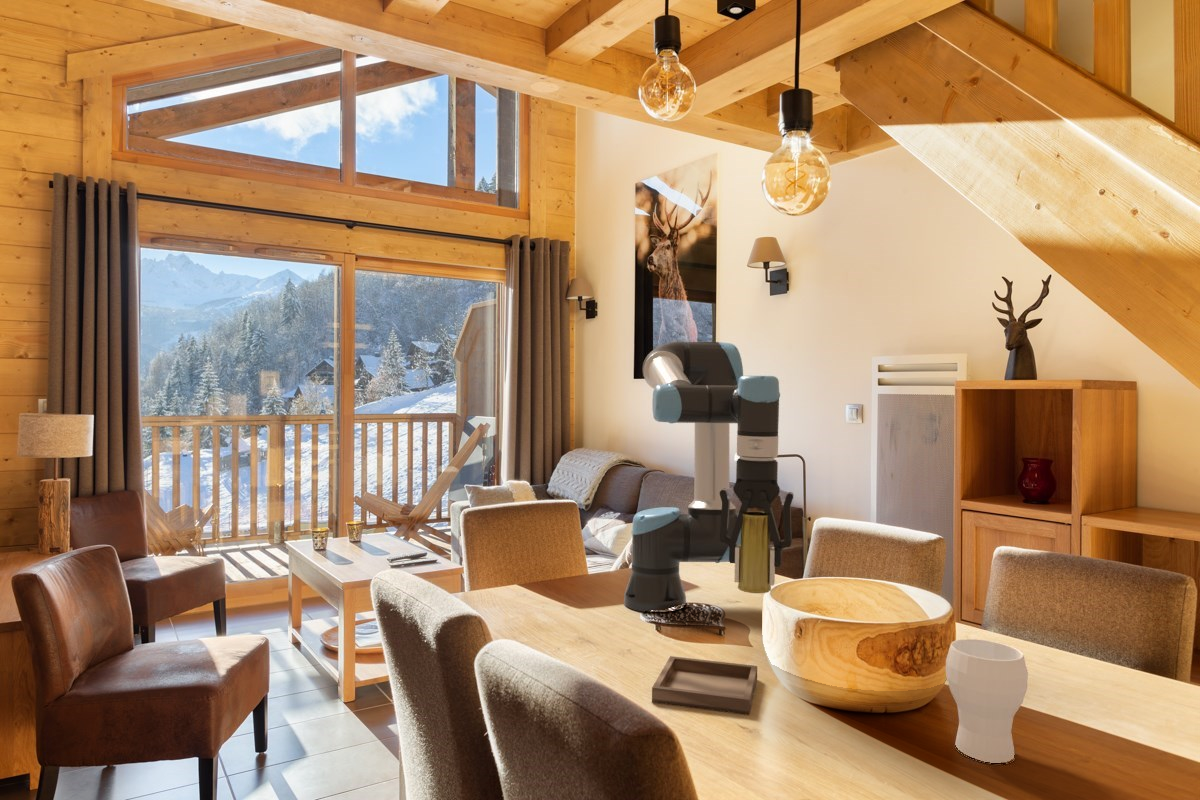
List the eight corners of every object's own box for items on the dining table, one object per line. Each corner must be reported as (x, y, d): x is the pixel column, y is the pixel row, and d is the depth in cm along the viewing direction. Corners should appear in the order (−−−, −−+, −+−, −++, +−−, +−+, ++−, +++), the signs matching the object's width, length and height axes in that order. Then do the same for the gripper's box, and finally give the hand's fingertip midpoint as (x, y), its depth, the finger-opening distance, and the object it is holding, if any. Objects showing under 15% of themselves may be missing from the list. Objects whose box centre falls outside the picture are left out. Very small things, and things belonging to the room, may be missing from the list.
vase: (772, 586, 144) (774, 511, 143) (768, 595, 138) (770, 517, 138) (740, 583, 146) (741, 509, 145) (735, 591, 140) (736, 514, 140)
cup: (930, 736, 115) (932, 638, 115) (997, 734, 116) (998, 637, 116) (970, 771, 105) (972, 662, 105) (1043, 768, 106) (1045, 661, 106)
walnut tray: (670, 669, 142) (670, 656, 142) (757, 679, 137) (757, 665, 137) (651, 702, 127) (652, 687, 127) (749, 715, 122) (749, 699, 122)
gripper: (704, 458, 140) (701, 582, 141) (808, 462, 135) (805, 591, 136) (709, 454, 147) (707, 572, 148) (809, 458, 142) (806, 581, 143)
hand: (754, 581), depth 142 cm, fingers closed on vase, 6 cm apart
